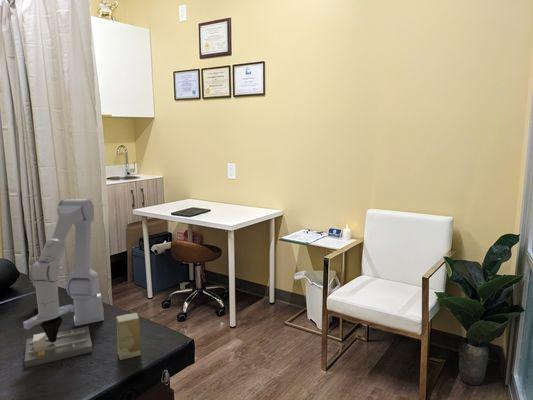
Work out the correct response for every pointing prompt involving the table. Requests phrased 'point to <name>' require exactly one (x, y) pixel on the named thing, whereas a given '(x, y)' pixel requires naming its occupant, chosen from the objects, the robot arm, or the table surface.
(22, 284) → the table surface
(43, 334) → the block
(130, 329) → the skincare box
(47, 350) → the panel
